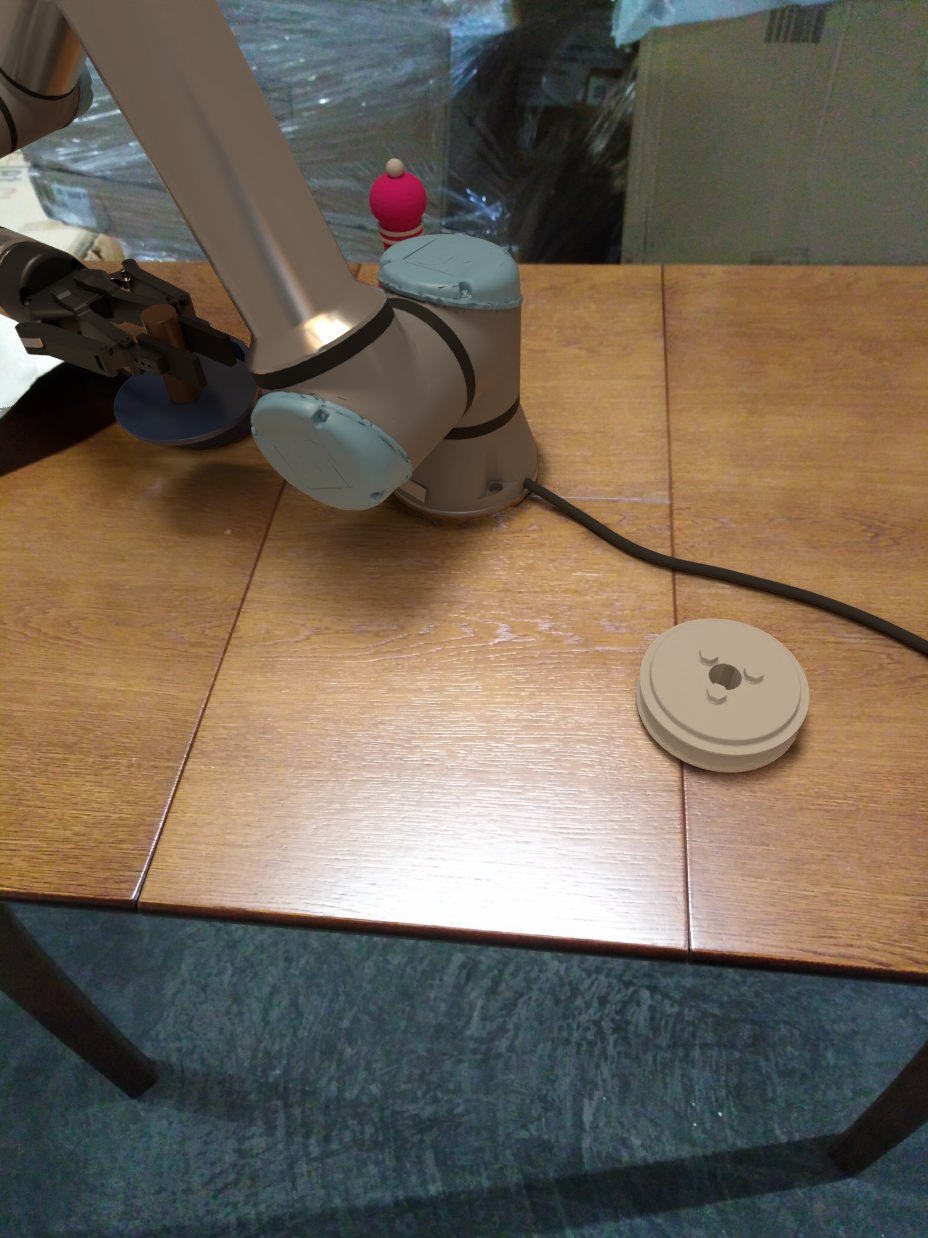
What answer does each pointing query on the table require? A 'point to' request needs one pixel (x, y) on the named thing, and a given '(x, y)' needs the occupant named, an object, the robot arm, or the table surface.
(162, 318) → the bowl lid
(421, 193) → the pepper mill
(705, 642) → the beige round base
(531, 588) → the table surface
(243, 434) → the bowl
